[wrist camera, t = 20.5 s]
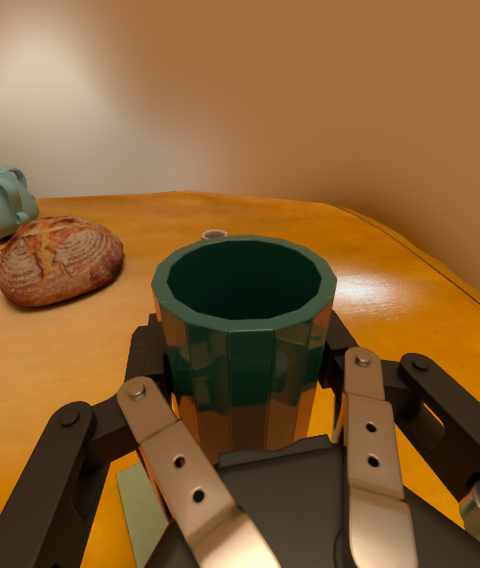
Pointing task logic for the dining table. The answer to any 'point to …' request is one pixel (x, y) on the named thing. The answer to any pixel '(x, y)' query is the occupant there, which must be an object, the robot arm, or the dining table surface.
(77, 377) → the dining table surface
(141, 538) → the scale
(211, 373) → the cup
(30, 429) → the dining table surface
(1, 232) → the decorative pot
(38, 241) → the bread
